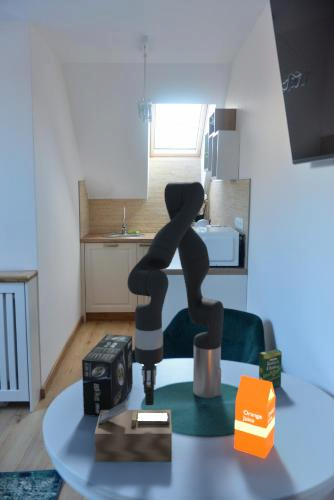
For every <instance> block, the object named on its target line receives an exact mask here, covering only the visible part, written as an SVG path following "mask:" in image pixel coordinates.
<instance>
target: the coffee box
mask: <svg viewBox="0 0 334 500" xmlns="http://www.w3.org/2000/svg"><path fill="white" fill-rule="evenodd" d="M258 354H259V359H258V360H259V361H258V362H259V363H258V379H260V380H265V381H269V382H272V385H273V388H275V387H276V388H277V387H281V385H282V363H283V361H282V358H283V357H282V351H281V350H280V349H278V348H277V349H273V350H268V351H262V352H259V353H258Z"/></svg>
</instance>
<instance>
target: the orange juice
mask: <svg viewBox="0 0 334 500" xmlns="http://www.w3.org/2000/svg"><path fill="white" fill-rule="evenodd" d="M275 394H276V393H275V390H274V387H273V385H272V382H269V381H265V380H260V379H259V378H255V377H252V376H248V375H242V374H241V376H240V381H239V384H238V388H237V392H236V397H235V408H234V409H235V414H234V416H235V417H234V418H235V419H234V441H233V442H234V444H233V445H234V446H233V448H234V449H235V450H237V451H240V452H244V453H246V454H248V455H249V454H250V455H253V456H255V457H258V458H262V459H266V458H267V456H268V454H269V453H270V452H271V450H272V448H273V445H274V440H275V421H276V415H275V414H276V395H275Z"/></svg>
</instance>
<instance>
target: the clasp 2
mask: <svg viewBox="0 0 334 500" xmlns="http://www.w3.org/2000/svg"><path fill="white" fill-rule="evenodd" d="M138 424H167V425H169V424H170V415H169V413H166V414H149V413H139V414H138Z"/></svg>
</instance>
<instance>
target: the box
mask: <svg viewBox="0 0 334 500" xmlns="http://www.w3.org/2000/svg"><path fill="white" fill-rule="evenodd" d="M81 374H82V376H81V378H82V403H83V406H82V407H83V415H84V416H91V417H92V416H93V417H99V415H100V411H101V410H110V409H112V408H114V407H115V406H117V405H119V404H121V403H123V402H124V400H125V399H126V397H127V396H128V394H129V392H130V391H131V389H132V387H133V383H134V382H133V381H134V380H133V336H132V335H125V334H123V335H122V334H111V333H106V334H105V336H104V337H102V339H101V340H99V341H98V343H97V344H95V346H94V347H93V348H91V350H90V351H89V352H88V353H87V354H86V355H85V356H84V357H83V358H82V359H81Z"/></svg>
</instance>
